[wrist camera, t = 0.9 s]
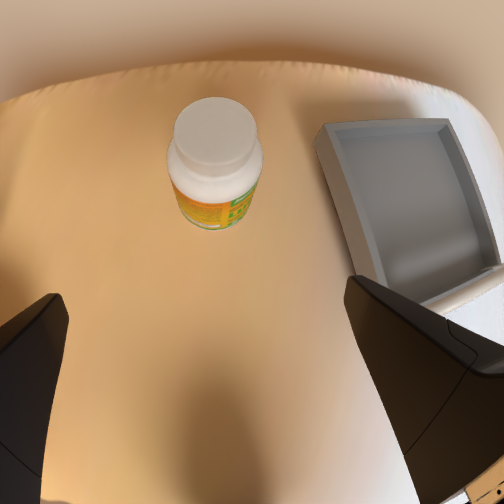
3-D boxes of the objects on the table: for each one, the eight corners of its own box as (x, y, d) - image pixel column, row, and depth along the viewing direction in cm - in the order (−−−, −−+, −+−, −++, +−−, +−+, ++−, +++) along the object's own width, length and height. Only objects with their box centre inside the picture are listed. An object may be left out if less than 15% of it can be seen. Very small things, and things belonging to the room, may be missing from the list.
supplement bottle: (234, 243, 23) (248, 197, 13) (166, 216, 23) (138, 156, 13) (260, 180, 24) (287, 106, 15) (196, 156, 24) (189, 74, 14)
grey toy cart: (467, 279, 25) (528, 267, 17) (357, 326, 23) (416, 331, 15) (420, 142, 27) (466, 102, 19) (305, 155, 25) (338, 99, 17)
